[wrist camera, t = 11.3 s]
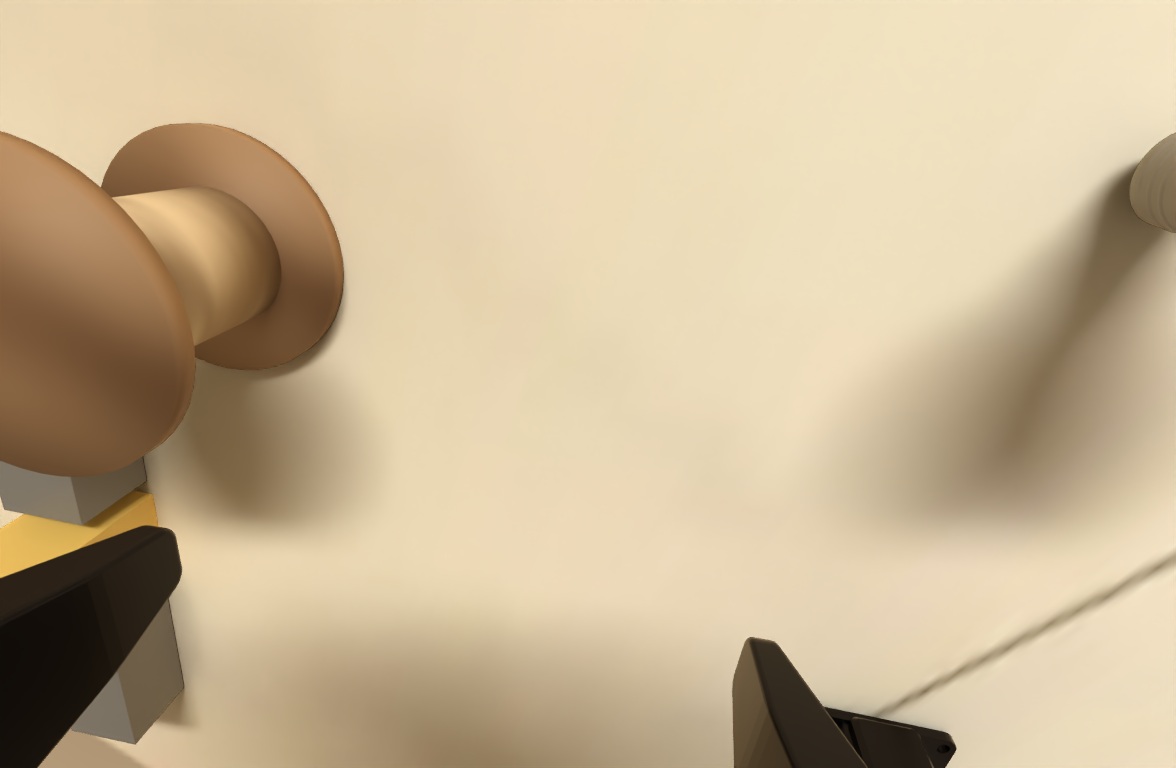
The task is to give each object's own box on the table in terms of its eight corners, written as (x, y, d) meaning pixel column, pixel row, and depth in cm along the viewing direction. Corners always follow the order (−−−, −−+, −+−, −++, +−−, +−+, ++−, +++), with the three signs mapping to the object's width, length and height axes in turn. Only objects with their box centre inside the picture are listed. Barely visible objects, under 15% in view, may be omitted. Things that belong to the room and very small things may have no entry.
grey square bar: (184, 687, 30) (135, 744, 27) (126, 674, 30) (72, 730, 27) (118, 325, 22) (40, 354, 19) (40, 309, 22) (-49, 336, 19)
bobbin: (344, 382, 22) (195, 505, 15) (134, 341, 22) (-110, 443, 15) (341, 147, 18) (146, 162, 11) (93, 103, 19) (-244, 92, 12)
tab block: (166, 568, 26) (26, 694, 21) (97, 554, 27) (-61, 675, 21) (152, 494, 25) (-4, 608, 19) (79, 479, 25) (-98, 588, 19)
